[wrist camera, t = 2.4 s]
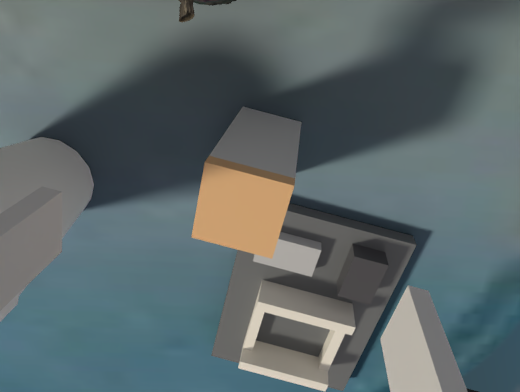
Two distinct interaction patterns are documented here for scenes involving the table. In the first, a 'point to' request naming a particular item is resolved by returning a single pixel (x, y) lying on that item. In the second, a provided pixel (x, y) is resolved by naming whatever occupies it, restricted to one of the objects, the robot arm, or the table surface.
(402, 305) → the robot arm
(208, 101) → the table surface
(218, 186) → the plug
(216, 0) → the mate gourd
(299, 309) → the board
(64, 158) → the foam cup
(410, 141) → the table surface
